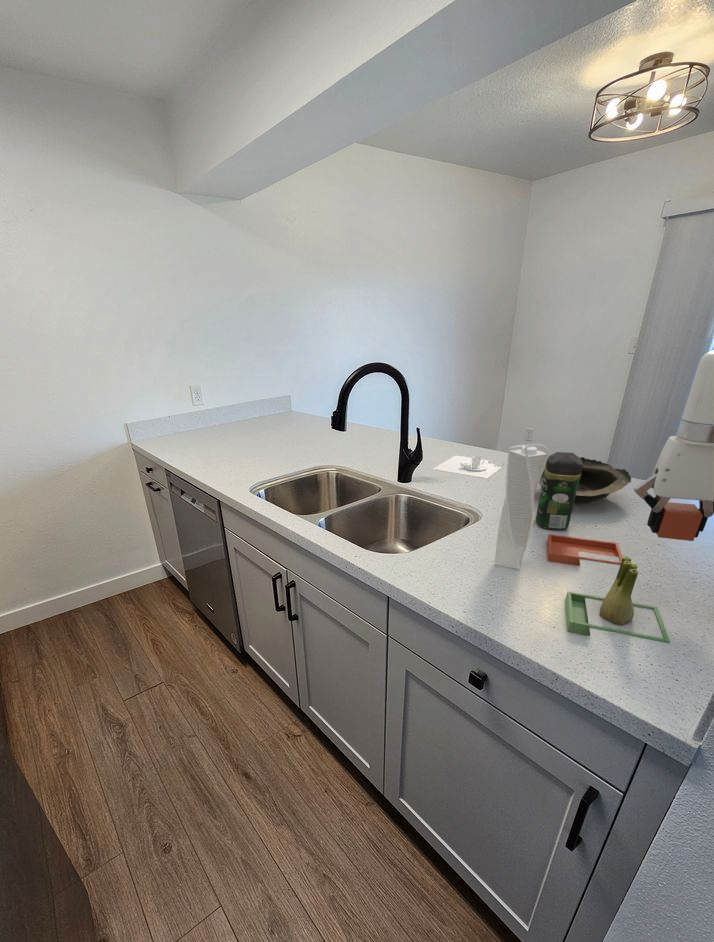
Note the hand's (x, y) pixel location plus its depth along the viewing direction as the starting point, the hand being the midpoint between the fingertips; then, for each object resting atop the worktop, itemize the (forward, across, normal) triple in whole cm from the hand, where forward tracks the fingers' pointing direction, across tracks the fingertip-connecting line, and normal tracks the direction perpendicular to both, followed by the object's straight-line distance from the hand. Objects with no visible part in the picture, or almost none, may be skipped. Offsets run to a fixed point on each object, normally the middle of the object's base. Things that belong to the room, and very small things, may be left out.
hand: (672, 531), depth 79 cm
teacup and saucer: (+14, +42, -74) cm, 86 cm away
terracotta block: (0, 0, 0) cm, 0 cm away
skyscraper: (+14, +26, -4) cm, 30 cm away
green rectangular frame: (+14, +8, +12) cm, 20 cm away
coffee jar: (+14, +17, -29) cm, 37 cm away
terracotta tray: (+14, +11, -13) cm, 22 cm away
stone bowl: (+14, +10, -50) cm, 53 cm away
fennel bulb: (+14, +8, +12) cm, 20 cm away
